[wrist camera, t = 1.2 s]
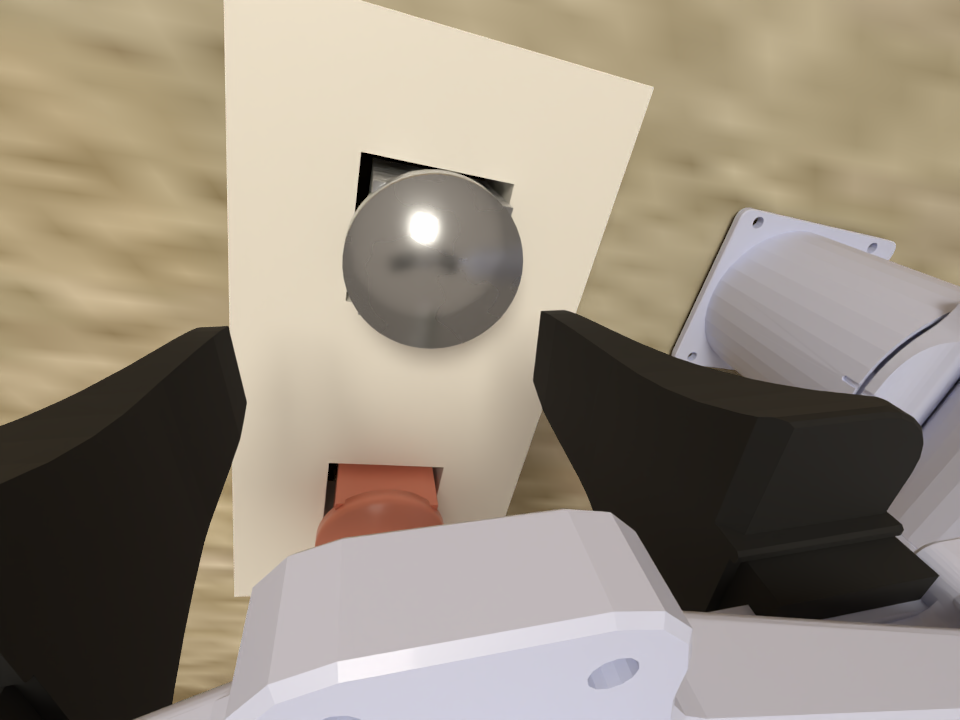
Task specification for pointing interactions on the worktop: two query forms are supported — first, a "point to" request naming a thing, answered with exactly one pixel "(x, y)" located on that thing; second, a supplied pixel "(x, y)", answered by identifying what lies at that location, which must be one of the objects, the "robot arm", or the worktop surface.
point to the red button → (379, 501)
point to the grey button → (431, 256)
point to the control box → (321, 236)
